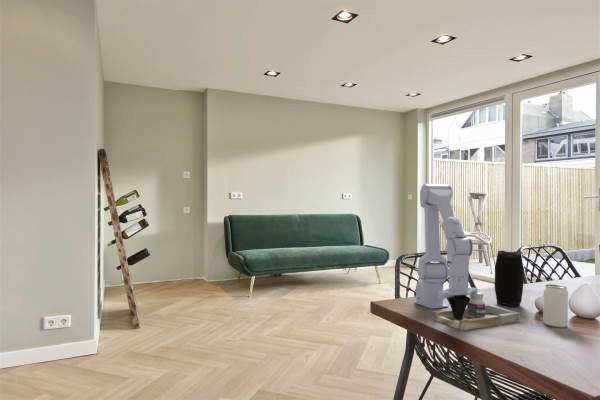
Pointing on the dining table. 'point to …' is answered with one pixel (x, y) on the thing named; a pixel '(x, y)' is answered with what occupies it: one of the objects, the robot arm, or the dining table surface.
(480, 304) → the pill bottle
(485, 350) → the dining table surface
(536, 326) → the dining table surface
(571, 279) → the dining table surface
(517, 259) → the portable speaker
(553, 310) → the can
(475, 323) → the beige flat u-shaped piece
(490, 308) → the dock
